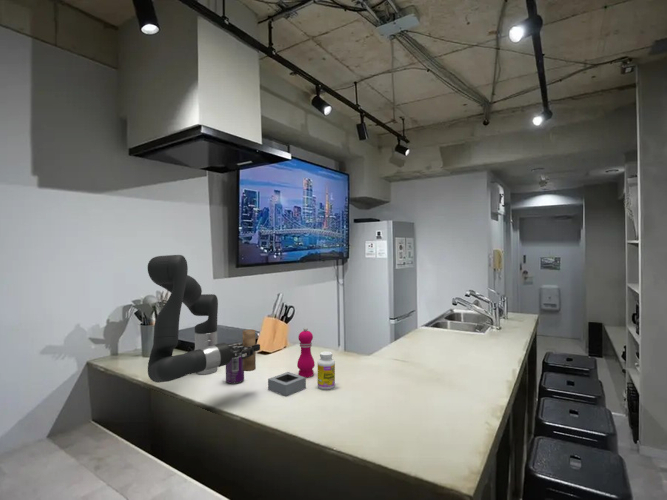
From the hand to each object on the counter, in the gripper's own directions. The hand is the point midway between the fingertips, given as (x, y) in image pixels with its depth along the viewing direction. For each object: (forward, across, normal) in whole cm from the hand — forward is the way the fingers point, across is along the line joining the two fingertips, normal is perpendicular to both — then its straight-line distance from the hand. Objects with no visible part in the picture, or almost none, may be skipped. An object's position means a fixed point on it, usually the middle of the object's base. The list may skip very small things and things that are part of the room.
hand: (255, 345), depth 134 cm
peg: (-3, 0, +8) cm, 8 cm away
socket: (+9, -7, +17) cm, 21 cm away
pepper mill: (+24, -2, +17) cm, 30 cm away
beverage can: (+1, +15, +17) cm, 23 cm away
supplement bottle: (+20, -17, +17) cm, 32 cm away
